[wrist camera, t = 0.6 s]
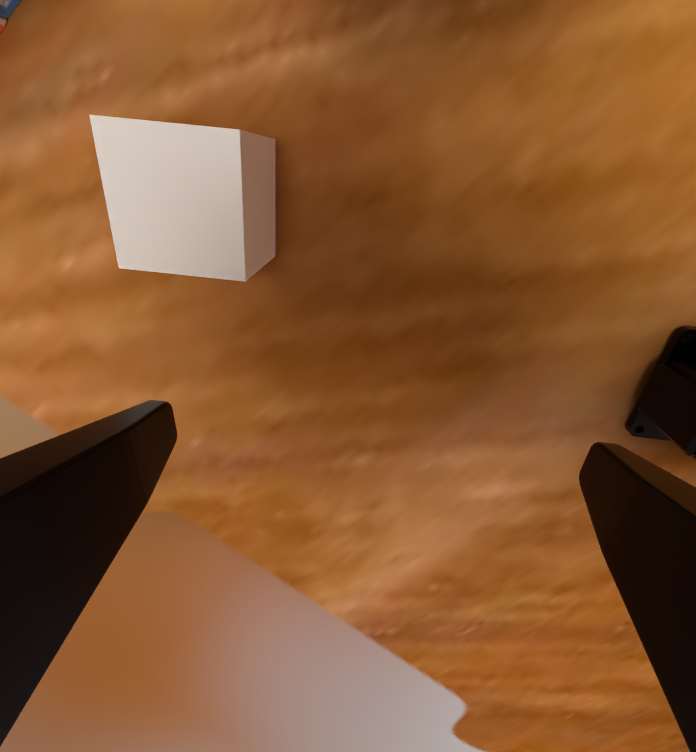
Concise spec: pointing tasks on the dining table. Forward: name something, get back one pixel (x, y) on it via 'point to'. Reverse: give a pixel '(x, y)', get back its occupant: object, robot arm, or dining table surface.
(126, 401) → the dining table surface
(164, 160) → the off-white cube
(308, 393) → the dining table surface
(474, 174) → the dining table surface
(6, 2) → the stack of blocks
